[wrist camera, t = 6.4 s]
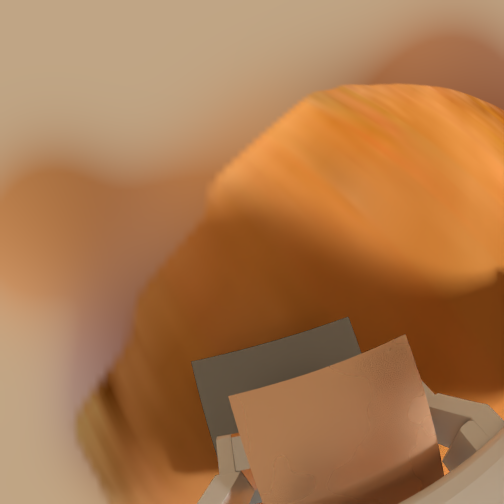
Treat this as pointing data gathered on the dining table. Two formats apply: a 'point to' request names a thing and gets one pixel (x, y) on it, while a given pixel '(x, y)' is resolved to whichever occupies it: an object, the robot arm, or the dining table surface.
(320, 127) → the dining table surface
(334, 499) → the block
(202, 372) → the stand
